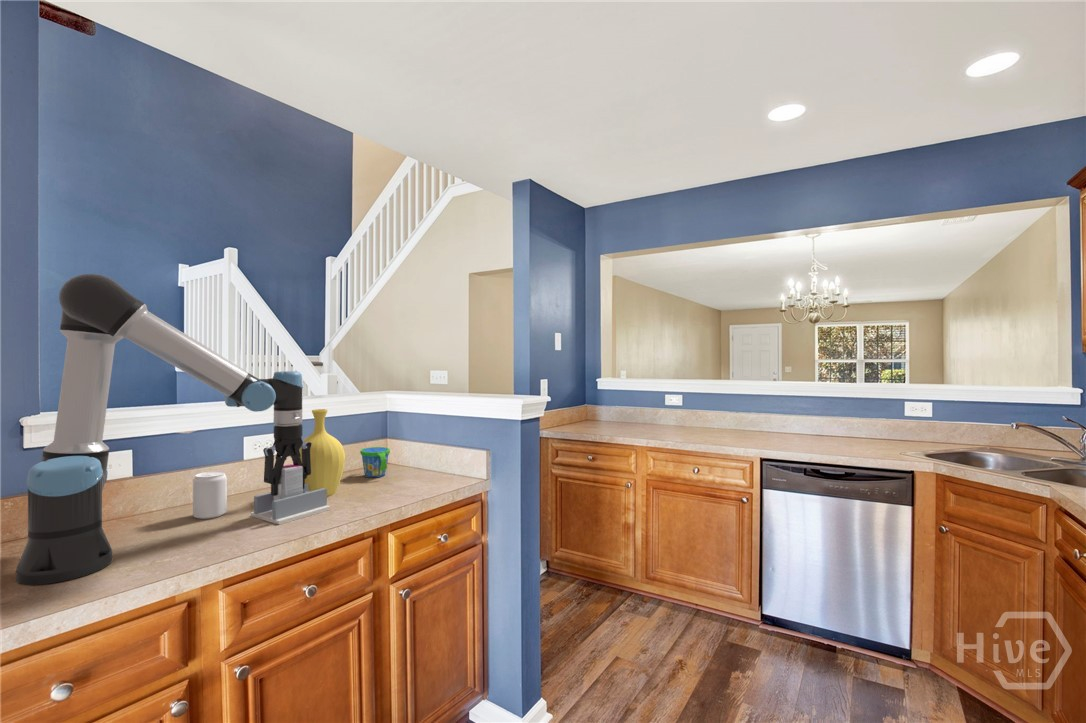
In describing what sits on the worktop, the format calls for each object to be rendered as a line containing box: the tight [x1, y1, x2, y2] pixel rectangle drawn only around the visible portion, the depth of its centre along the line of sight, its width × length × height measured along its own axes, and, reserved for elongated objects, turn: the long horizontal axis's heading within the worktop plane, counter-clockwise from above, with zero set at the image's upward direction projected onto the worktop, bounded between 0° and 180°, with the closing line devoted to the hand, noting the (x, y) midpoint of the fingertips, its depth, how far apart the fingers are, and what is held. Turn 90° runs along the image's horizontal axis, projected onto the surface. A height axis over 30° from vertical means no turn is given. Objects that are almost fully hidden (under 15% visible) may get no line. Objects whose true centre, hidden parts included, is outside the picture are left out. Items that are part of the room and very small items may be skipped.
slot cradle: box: [250, 484, 331, 526], centre depth 149 cm, size 16×14×6 cm
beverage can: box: [192, 470, 228, 520], centre depth 146 cm, size 8×8×12 cm
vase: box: [292, 408, 346, 497], centre depth 169 cm, size 16×16×28 cm
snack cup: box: [359, 446, 391, 479], centre depth 194 cm, size 16×10×10 cm
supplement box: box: [279, 463, 303, 498], centre depth 148 cm, size 6×6×12 cm
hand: (288, 503), depth 148 cm, fingers closed on supplement box, 6 cm apart
